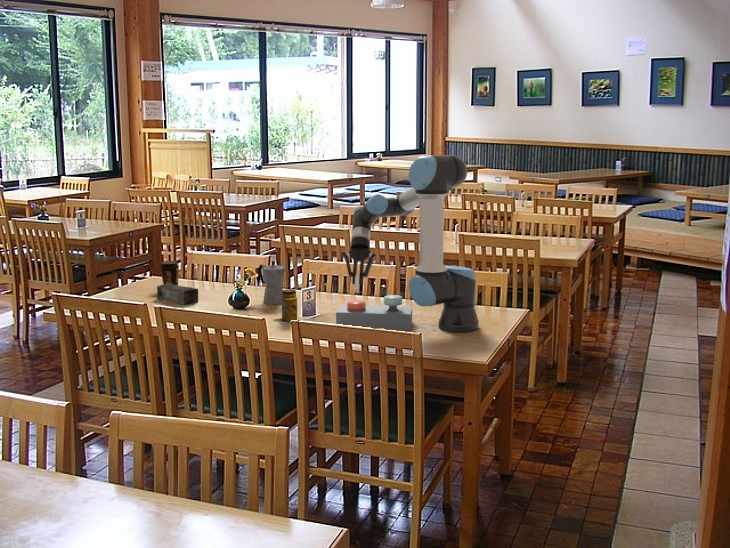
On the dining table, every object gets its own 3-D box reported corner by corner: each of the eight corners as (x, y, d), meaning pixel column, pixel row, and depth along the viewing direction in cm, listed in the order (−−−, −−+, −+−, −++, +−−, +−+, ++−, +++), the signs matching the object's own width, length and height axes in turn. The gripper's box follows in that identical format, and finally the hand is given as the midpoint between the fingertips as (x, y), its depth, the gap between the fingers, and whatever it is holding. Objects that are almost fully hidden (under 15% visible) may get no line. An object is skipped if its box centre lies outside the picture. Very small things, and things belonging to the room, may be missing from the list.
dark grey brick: (171, 296, 362) (170, 281, 361) (199, 302, 350) (199, 287, 349) (156, 299, 356) (155, 284, 355) (185, 306, 344) (184, 290, 343)
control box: (412, 321, 317) (412, 306, 316) (410, 329, 306) (410, 314, 305) (340, 319, 320) (340, 304, 319) (336, 327, 309) (336, 312, 308)
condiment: (301, 320, 319) (301, 290, 317) (282, 324, 315) (281, 293, 312) (292, 317, 325) (292, 287, 323) (273, 320, 321) (272, 290, 318)
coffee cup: (161, 288, 377) (160, 260, 374) (180, 287, 378) (179, 260, 376) (160, 292, 368) (159, 264, 366) (179, 291, 370) (178, 263, 367)
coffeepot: (293, 302, 350) (292, 260, 346) (278, 306, 342) (277, 264, 339) (266, 297, 359) (265, 257, 355) (251, 301, 351) (250, 260, 348)
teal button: (402, 315, 315) (402, 295, 313) (401, 320, 308) (401, 299, 306) (384, 315, 316) (384, 294, 314) (383, 319, 309) (383, 299, 307)
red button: (366, 320, 317) (366, 300, 315) (364, 325, 310) (364, 305, 308) (348, 320, 318) (348, 300, 316) (346, 325, 311) (346, 304, 309)
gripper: (377, 246, 327) (374, 296, 314) (345, 246, 328) (340, 296, 315) (376, 235, 321) (373, 285, 308) (343, 235, 322) (338, 285, 309)
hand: (356, 290), depth 311 cm, fingers closed
